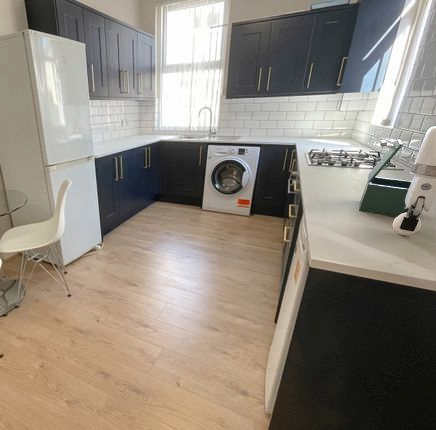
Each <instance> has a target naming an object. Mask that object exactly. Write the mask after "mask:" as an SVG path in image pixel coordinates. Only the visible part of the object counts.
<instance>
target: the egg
mask: <svg viewBox="0 0 436 430" xmlns="http://www.w3.org/2000/svg"><path fill="white" fill-rule="evenodd" d="M410 213H411V212H410ZM406 214H407V212H406V213H402V214H401V215H399V216H398V217H395V218H394V220H393V222H392V228H393V230H394V232H395V233H397V234H398V235H401V236H411V235H414V234H416V233H418V232H419V230H420V229H421V226H422V220H421V218H419V221H418V224H417V226H416V228H415V230H414V231H413V232H412V231H407V230H402V229H400V225H401V223H402V221H403V218H404V217H406Z"/></svg>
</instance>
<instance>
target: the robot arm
mask: <svg viewBox="0 0 436 430" xmlns="http://www.w3.org/2000/svg"><path fill="white" fill-rule="evenodd" d="M409 174H410V175H412V176H413V178H412V179H411V181H412V182H411V185H410V187H409V190H408V192H407V195H406V198H405V204H406V206H405V208H404V211H402V213H406V212H407V214H406V217H404V218H403V221H402V223H401V225H400V229H402V230H407V231H412V232H413V231H414V230H415V228H416V226H417V224H418V221H419V218H420V217H421V215H422V212H423V210H424V211H425V212H429V211H431V209H432V206H433V204H434V202H435V200H436V126H431V127H430V128H428V130H427V131H426V133H425V135H424V137H423V140H422V142H421V145H420V148H419V149H418V152H417V155H416V157H415V159H414V162H413V164H412V166H411V169H410V172H409ZM410 212H411V213H410ZM402 213H401V214H402ZM420 219H421V218H420Z"/></svg>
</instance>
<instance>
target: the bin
mask: <svg viewBox="0 0 436 430" xmlns="http://www.w3.org/2000/svg"><path fill="white" fill-rule="evenodd" d="M411 182H412V180H403V179H395V178H387V177H379V176H376V177H375V178H374V179H373V180H372V182H371V183H368V180H367V181H366V183H365V186H364V189H363V193H362V195H361V198H360V201H359V208H358V211H359V212H364V213H370V214H375V215H381V216H385V217H392V218H396V217H398V216H399V215H401V213H402V211H404V208H405V206H406V204H405V198H406V195H407V192H408V190H409V187H410V185H411Z"/></svg>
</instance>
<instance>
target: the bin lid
mask: <svg viewBox="0 0 436 430" xmlns="http://www.w3.org/2000/svg"><path fill="white" fill-rule="evenodd" d="M379 146H380V147H381V148H385V147H386V148H389V149H388V151H387V152H386V153H385V154H384V156H383V157H382V158H381V159H380V161H379V162H378V163H377V164H376V165H375V166H374V168H372V170H370V172H369V173H368V175H367V181H368V183H371V182H372V180H373V179H374V178H375V177H378V175H379V174H380V173H381V171H383V169H384V168H385V167H386V166H387V165H388V163H389V162H390V161H391V160H392V159H393V158H394V156H395V155H396V154H397V153H398V152H399V151H400V149H402V147H403V146H404V143H403V142H402V140H400V139H397V140H396V141H395V143H394V144H391V143H388V142H387V140H381V141H379Z"/></svg>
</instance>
